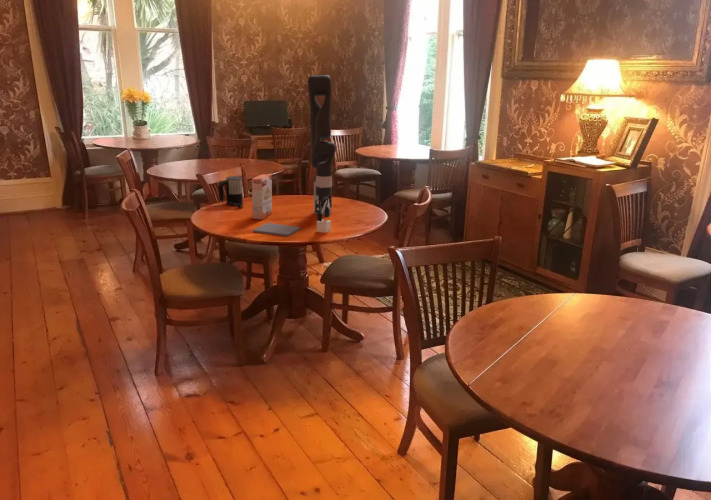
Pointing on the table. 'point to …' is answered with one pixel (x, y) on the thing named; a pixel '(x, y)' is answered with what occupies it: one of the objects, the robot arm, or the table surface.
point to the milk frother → (232, 191)
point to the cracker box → (262, 196)
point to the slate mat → (277, 229)
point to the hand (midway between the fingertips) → (323, 219)
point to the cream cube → (324, 226)
